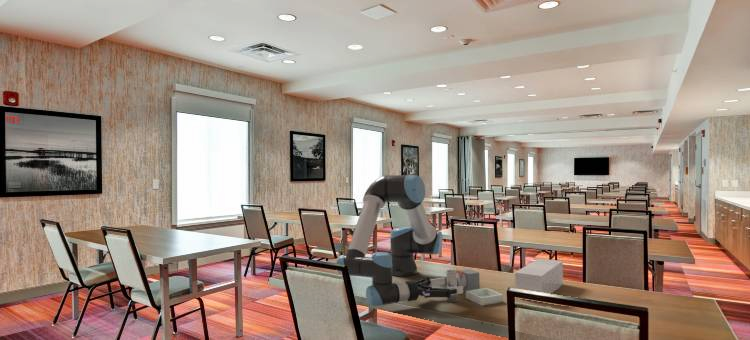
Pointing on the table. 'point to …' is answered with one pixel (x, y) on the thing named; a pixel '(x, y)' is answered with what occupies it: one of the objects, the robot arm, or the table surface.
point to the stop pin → (452, 284)
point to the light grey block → (540, 276)
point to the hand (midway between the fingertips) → (453, 285)
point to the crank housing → (468, 279)
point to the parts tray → (484, 296)
